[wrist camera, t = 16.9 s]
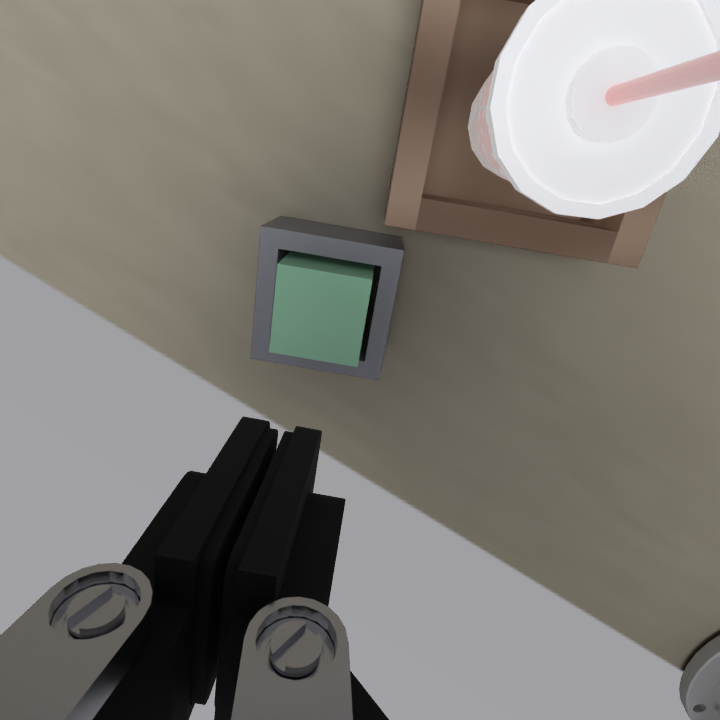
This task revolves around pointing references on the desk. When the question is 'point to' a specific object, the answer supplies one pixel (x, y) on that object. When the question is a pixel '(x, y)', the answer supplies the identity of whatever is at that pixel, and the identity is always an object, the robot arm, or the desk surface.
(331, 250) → the button housing
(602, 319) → the desk surface
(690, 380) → the desk surface
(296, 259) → the button
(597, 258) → the open wooden cube shelf
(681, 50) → the beverage cup
